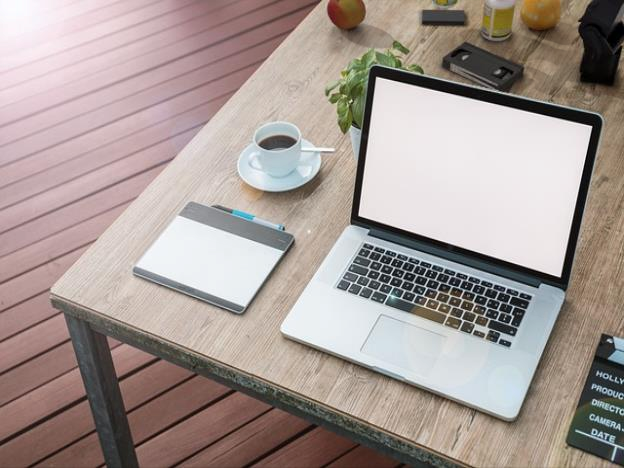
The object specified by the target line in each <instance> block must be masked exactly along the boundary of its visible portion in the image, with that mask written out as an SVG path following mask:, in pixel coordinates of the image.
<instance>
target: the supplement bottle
mask: <svg viewBox="0 0 624 468" xmlns="http://www.w3.org/2000/svg"><path fill="white" fill-rule="evenodd" d="M431 1H432V4H433V6H435V7H436V8H439V9H450V8H454V7H456V6H457V4H458V2H459V0H431Z"/></svg>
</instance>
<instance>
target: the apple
mask: <svg viewBox="0 0 624 468" xmlns="http://www.w3.org/2000/svg"><path fill="white" fill-rule="evenodd" d="M326 13H327V16H328V18H329V20H330V21H331V23H332V24H333V25H334V26H336V28H338V29H341V30H344V31H345V30H349V29H352V28H353V29H354V28H355V27H357V26H358V25H360V24H362V23H363V22H364V20H365V19H366V14H367V8H366V4H365V2H364V0H329V1H328V2H327V6H326Z"/></svg>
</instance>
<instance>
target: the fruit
mask: <svg viewBox="0 0 624 468" xmlns="http://www.w3.org/2000/svg"><path fill="white" fill-rule="evenodd" d="M519 15H520V16H519V17H520V20H521V22H522V23H523V24H524V25H525V26H527V27H528V28H529V29H532V30H534V31H544V30H549V29H551V28H552V27H554V26H555V25H556V24H557V23H558V22H559V21H560V18H561V15H562V4H561V1H560V0H523V2H522V4H521V6H520V9H519Z"/></svg>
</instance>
